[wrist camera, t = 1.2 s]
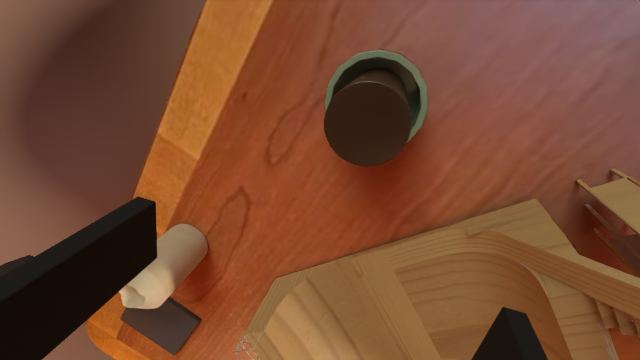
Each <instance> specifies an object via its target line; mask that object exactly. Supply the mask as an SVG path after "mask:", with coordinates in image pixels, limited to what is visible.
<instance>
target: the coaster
mask: <svg viewBox="0 0 640 360" xmlns="http://www.w3.org/2000/svg"><path fill="white" fill-rule="evenodd" d="M121 320H122V321H124V322H125V323H127V324H128V325H130V326H131V327H132V328H134V329H135V330H137V331H138V332H140V333H141V334H143V335H144V336H146V337H147V338H149V339H150V340H152V341H153V342H155V343H156V344H158V345H159V346H161V347H162V348H164V349H165V350H167V351H168V352H170V353H171V354H173V355H175V354H176V353H177V351H178V350H179V349H180V347H181V346H182V345H183V343H184V342H185V341H186V339H187V338H188V336H189V335H190V334H191V332H192V331H193V330H194V328H195V327H196V326H197V324H198V323H199V321H200V320H201V319H200V318H199V317H197V316H196V315H194V314H193V313H191V312H190V311H189V310H187V309H186V308H184V307H183V306H181V305H180V304H178V303H177V302H175V301H174V300H172V299H171V298H170V297H168V298H167V299H166V300H165V302H164V303H163V304H162V305H161V306H159V307H158V308H154V309H140V308H127V307H126V309H125V311H124V313H123V315H122V317H121Z"/></svg>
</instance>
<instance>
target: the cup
mask: <svg viewBox="0 0 640 360" xmlns="http://www.w3.org/2000/svg"><path fill="white" fill-rule="evenodd" d="M372 68H386V69H389V70H391V71H393V72H395V73H396V74H397V75H398V76H399V77H400V78H401V79H402V81H403V82H404V84H405V87H406V91H407V97H408V103H409V108H410V114H411V132H410V136H409V138H408V141H407V143H408V142H409V141H410V140H411V139H412V137H413V136H414V135H415V134H416V133H417V132H418V131H419V129H420V128H421V127H422V124H423V121H424V118H425V115H426V112H427V109H428V97H427V87H426V84H425V82H424V80H423V78H422V76H421V74H420V73H419V71H418V69H417V67H416V66H415V65H414V64H413V63H412V62H411V61H409V60H408V59H407V58H405V57H404V56H403V55H401V54H400V53H397V52H393V51H388V50H384V49H378V50H373V51H368V52H363V53H359V54H356V55H355V56H353V57H352V58H350V59H349V60H347V61H346V62H345V63H343V64H342V65H340V66H339V68H338V69H337V71H336V72H335V74H334V75H333V77H332V78H331V80H330V81H329V83H328V87H327V92H326V97H325V102H324V105H325V110H327V107H328V105H329V103H330V101H331V100H332V98H333V97H334V96H335V95H336V94H337V93H338V92H339V91H340V90H341V89H342V88H344V87H345V86H346V85H348V84H349V83H350V82H351V81H353V80H354V79H355V78H356V77H358V76H359V75H360V74H362V73H363V72H365V71H367V70H369V69H372Z"/></svg>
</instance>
